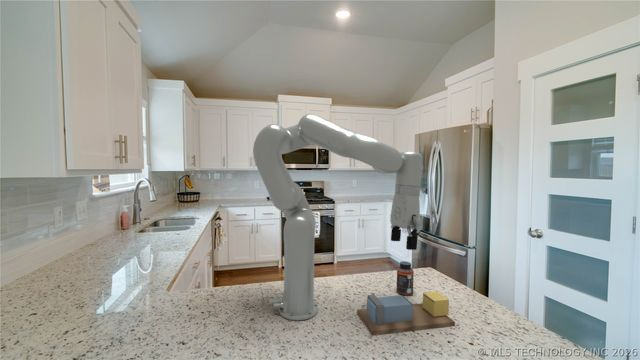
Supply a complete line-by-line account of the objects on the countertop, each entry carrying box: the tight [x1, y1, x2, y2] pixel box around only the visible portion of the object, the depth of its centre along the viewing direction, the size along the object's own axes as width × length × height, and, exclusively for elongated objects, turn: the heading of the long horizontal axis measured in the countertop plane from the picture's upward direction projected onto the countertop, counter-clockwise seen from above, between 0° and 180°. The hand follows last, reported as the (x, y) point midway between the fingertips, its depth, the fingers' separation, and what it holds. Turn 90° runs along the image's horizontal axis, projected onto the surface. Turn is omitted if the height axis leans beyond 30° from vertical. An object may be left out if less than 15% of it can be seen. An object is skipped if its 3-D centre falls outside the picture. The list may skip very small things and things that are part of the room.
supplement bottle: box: [396, 260, 415, 296], centre depth 101 cm, size 6×6×11 cm
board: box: [356, 302, 456, 336], centre depth 83 cm, size 26×12×1 cm, turn 102°
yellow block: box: [422, 291, 450, 317], centre depth 85 cm, size 5×6×5 cm
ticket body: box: [366, 294, 414, 326], centre depth 81 cm, size 12×8×6 cm, turn 102°
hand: (402, 244), depth 86 cm, fingers open, 9 cm apart
